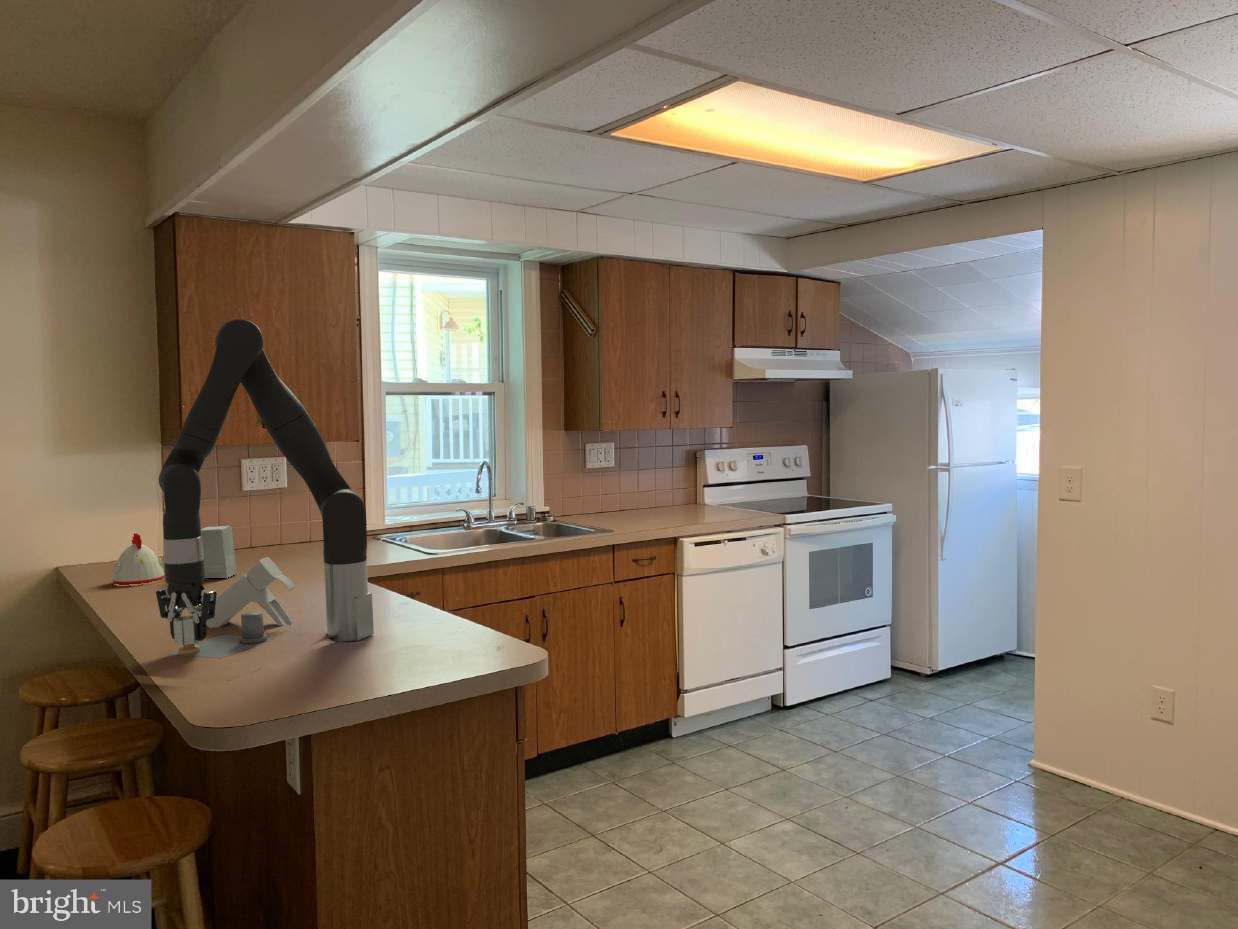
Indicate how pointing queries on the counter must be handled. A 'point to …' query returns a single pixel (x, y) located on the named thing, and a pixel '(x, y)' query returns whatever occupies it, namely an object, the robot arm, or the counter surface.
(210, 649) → the board
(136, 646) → the counter surface
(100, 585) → the counter surface
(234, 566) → the skincare box
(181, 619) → the tube
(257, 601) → the faucet
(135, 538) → the chicken hat
